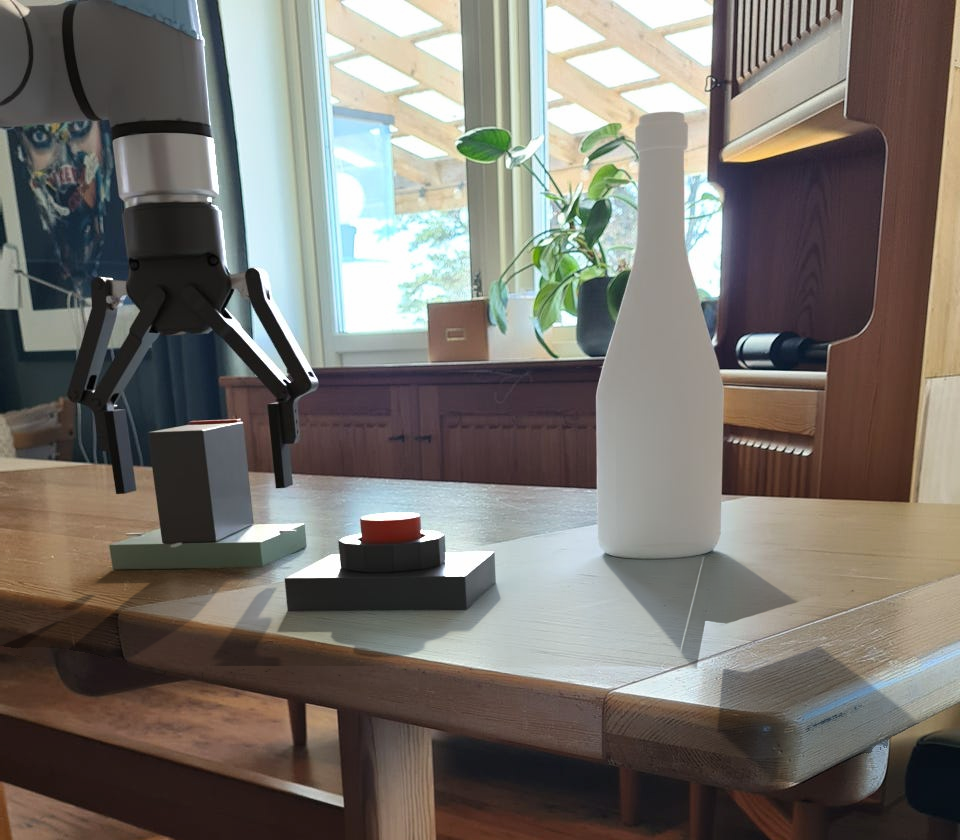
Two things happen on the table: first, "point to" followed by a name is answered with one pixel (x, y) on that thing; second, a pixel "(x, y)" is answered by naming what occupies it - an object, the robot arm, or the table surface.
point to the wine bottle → (660, 380)
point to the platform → (210, 549)
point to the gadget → (201, 480)
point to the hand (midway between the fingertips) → (204, 490)
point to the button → (390, 527)
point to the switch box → (392, 577)
